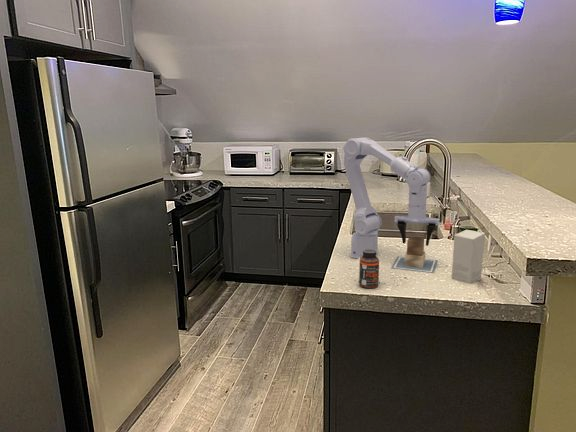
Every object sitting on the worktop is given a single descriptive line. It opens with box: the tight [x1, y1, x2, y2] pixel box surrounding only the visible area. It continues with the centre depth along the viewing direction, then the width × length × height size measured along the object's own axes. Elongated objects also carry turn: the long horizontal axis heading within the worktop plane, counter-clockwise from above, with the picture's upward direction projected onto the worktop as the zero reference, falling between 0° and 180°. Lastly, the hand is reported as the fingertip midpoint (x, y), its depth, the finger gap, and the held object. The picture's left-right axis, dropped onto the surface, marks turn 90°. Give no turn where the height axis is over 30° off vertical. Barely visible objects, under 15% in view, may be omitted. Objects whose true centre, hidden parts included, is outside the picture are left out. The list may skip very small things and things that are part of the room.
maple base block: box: [404, 251, 426, 268], centre depth 154 cm, size 6×6×4 cm
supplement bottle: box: [358, 249, 380, 289], centre depth 138 cm, size 6×6×11 cm
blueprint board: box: [390, 255, 439, 274], centre depth 155 cm, size 14×14×1 cm
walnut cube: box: [406, 236, 425, 256], centre depth 153 cm, size 5×5×5 cm
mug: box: [426, 181, 431, 198], centre depth 280 cm, size 12×10×9 cm
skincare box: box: [451, 229, 486, 284], centre depth 140 cm, size 8×7×16 cm
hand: (415, 243), depth 153 cm, fingers open, 7 cm apart
